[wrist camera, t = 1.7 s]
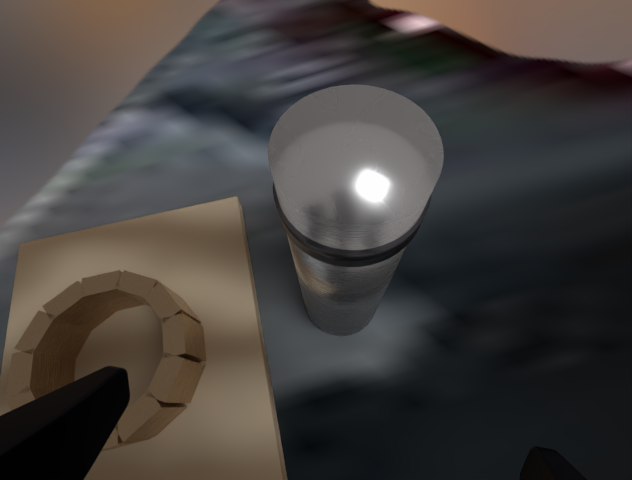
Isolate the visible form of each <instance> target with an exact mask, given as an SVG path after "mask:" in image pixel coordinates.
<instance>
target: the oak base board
mask: <svg viewBox="0 0 632 480" xmlns="http://www.w3.org/2000/svg"><path fill="white" fill-rule="evenodd" d="M117 270H120V271H122V272H123V271H124V270H125V271H129V272H132V273H135V274H139V275H142V276H145V277H149V278H152V279H156V280H158V281H159V282H161V283H162V284H163V285H165V286H166V287H168V288H169V289H170V290H172V291H173V292H174V293H176V294H177V295H179V296H180V297H181V298H183V299H184V301H185V302H186V303H187V304H188V306H189V307H190V308H191V310H192V311H193V312H194V313H195V315H196V316H197V317H198V318H199V320H200V321H201V322H202V323H200V324H201V325H202V326H203V330H204V340H205V351H206V361H204V362H200V364H203V365H206V366H205V368H204V371H203V373H202V376H201V378H200V381H199V383H198V386H197V388H196V390H195V393H194V395H193V398H192V400H191V403H185V405H186V406H187V408H186V409H185V410H184V411H183V412H182V413H181V414H180V415H179V416H177V417H176V418H175V419H174V420H173V421H172V422H171V423H170V424H169V425H168V426H167V427H165V428H164V429H163V430H162V431H161V432H160V433H159V434H158V435H157V436H156V437H151V439H150V440H146V441H142V442H138V443H134V444H130V445H126V446H123V447H119V448H115V449H111V450H106V451H101V452H100V454H99V456H98V457H97V459H96V461H95V463H94V464H93V466H92V467H91V469H90V471H89V472H88V474H87V475H86V477H85V478H84V480H287V474H286V468H285V462H284V456H283V450H282V444H281V438H280V432H279V426H278V420H277V414H276V408H275V402H274V396H273V390H272V384H271V378H270V372H269V366H268V360H267V354H266V348H265V342H264V336H263V330H262V324H261V318H260V312H259V306H258V300H257V294H256V288H255V282H254V276H253V270H252V264H251V258H250V252H249V246H248V240H247V234H246V228H245V222H244V216H243V210H242V207H241V204H240V202H239V200H238V198H237V196H236V197H231V198H227V199H222V200H218V201H213V202H209V203H204V204H199V205H195V206H190V207H186V208H181V209H176V210H172V211H167V212H163V213H158V214H153V215H149V216H144V217H140V218H135V219H130V220H126V221H121V222H117V223H112V224H108V225H103V226H98V227H94V228H89V229H85V230H80V231H75V232H71V233H66V234H62V235H57V236H52V237H48V238H43V239H39V240H34V241H29V242H25V243H20V247H19V254H18V260H17V267H16V274H15V280H14V287H13V294H12V301H11V307H10V314H9V321H8V328H7V334H6V341H5V348H4V354H3V361H2V368H1V375H0V416H1V415H3V414H5V413H7V412H9V411H11V410H10V408H9V406H8V404H7V402H8V401H9V400H10V399H11V398H13V397H6V393H7V386H8V379H9V372H10V364H11V357H12V354H13V353H17V352H22V351H19V350H17V349H14V348H15V346H16V345H17V343H18V341H19V340H20V338H21V337H22V335H23V334H24V332H25V331H26V329H27V327H28V326H29V324H30V323H31V321H32V320H33V318H34V316H35V315H36V313H37V312H38V310H39V311H42V312H45V310H44V308H43V307H42V306H43V305H45V304H46V303H47V302H49V301H50V300H51V299H53V298H54V297H56V296H57V295H58V294H60V293H61V292H62V291H64V290H65V289H67V288H68V287H69V286H71V285H72V284H73V283H75V282H76V281H79V282H81V283H82V278H87V277H91V276H95V275H100V274H104V273H109V272H113V271H117ZM162 357H163V332H162V320H161V319H160V318H159V316H158V315H157V314H156V312H155V311H154V310H153V308H152V307H151V306H148V305H141V306H137V307H133V308H128V309H124V310H120V311H117V312H115V313H114V314H113V315H111V316H110V317H109V318H108V319H106V320H105V321H104V322H102V323H101V324H100V325H99V326H97V327H96V328H95V329H93V330H92V331H91V333H90V335H89V337H88V338H87V340H86V342H85V344H84V346H83V347H82V349H81V351H80V353H79V355H78V356H77V358H76V364H75V380H74V381H76V380H78V379H80V378H82V377H84V376H86V375H88V374H91V373H93V372H95V371H97V370H99V369H101V368H104V367H106V366H116V367H121V368H124V369H126V370H127V372H128V380H129V388H130V400H129V403H128V406H127V408H129V407H130V406H131V405H132V404H133V403H134V402H136V401H137V400H138V399H139V398H140V397H141V396H142V395H144V394H145V393H146V392H147V390H148V388H149V386H150V383H151V381H152V379H153V377H154V375H155V373H156V370H157V368H158V366H159V364H160V362H161V360H162ZM127 408H126V409H127Z"/></svg>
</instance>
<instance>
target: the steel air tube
mask: <svg viewBox="0 0 632 480" xmlns="http://www.w3.org/2000/svg"><path fill="white" fill-rule="evenodd" d="M443 156H444V155H443V145H442V141H441V137H440V135H439V132H438V130H437V128H436V126H435V125H434V123H433V121H432V120H431V119H430V118H429V116H428V115H427V114H426V113H425V112H424V111H423V110H422V109H421V108H420V107H419V106H417V105H416V104H415V103H413V102H412V101H410V100H409V99H407V98H405V97H403V96H401V95H399V94H397V93H395V92H392V91H389V90H386V89H383V88H378V87H374V86H366V85H342V86H335V87H330V88H326V89H323V90H320V91H317V92H314V93H312V94H310V95H308V96H306V97H304V98H302V99H301V100H299V101H298V102H296V103H295V104H294V105H292V106H291V107H290V108H289V109H288V110H287V111H286V112H285V113H284V114H283V115H282V116H281V118H280V119H279V120H278V122H277V123H276V125H275V127H274V129H273V131H272V134H271V137H270V141H269V146H268V159H269V166H270V170H271V174H272V178H273V194H274V200H275V203H276V207H277V211H278V214H279V218H280V221H281V224H282V226H283V228H284V230H285V232H286V234H287V236H288V240H289V244H290V248H291V252H292V256H293V260H294V264H295V268H296V272H297V276H298V279H299V283H300V287H301V291H302V295H303V299H304V303H305V307H306V310H307V313H308V315H309V317H310V319H311V321H312V322H313V323H314V324H315V325H316V326H317V327H318V328H319V329H321V330H322V331H324V332H326V333H329V334H332V335H337V336H346V335H351V334H354V333H357V332H359V331H360V330H362V329H363V328H364V327H366V326H367V325H368V324H369V322H370V321H371V319H372V318H373V316H374V314H375V312H376V309H377V307H378V305H379V303H380V301H381V299H382V297H383V295H384V292H385V290H386V288H387V286H388V284H389V282H390V280H391V278H392V276H393V273H394V271H395V269H396V267H397V265H398V263H399V261H400V259H401V256H402V254H403V252H404V250H405V248H406V246H407V245H408V243H409V242H410V241H411V240H412V239H413V237H414V236H415V234H416V233H417V231H418V229H419V227H420V225H421V223H422V220H423V218H424V216H425V214H426V212H427V210H428V208H429V204H430V200H431V193H432V191H433V189H434V187H435V184H436V182H437V180H438V178H439V176H440V173H441V169H442V166H443Z"/></svg>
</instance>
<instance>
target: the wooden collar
mask: <svg viewBox="0 0 632 480" xmlns="http://www.w3.org/2000/svg"><path fill="white" fill-rule="evenodd" d="M141 305H148V306H151V307H152V308H153V310H154V311H155V312H156V314H157V315H158V316H159V318H160V319H161V320H162V332H163V357H162V360H161V362H160V364H159V366H158V368H157V370H156V373H155V375H154V377H153V379H152V381H151V383H150V386H149V388H148V390H147V392H146V393H145V394H144V395H142V396H141V397H140V398H139V399H138V400H137V401H136V402H134V403H133V404H132V405H131V406H130V407H129V408H127V409H126V410H125V411H124V413H123V415H122V416H121V418H120V420H119V421H118V423H117V425H116V427H115V428H114V430H113V432H112V433H111V435H110V437H109V439H108V440H107V442H106V444H105V445H104V447H103V449H102V451H106V450H111V449H115V448H119V447H123V446H126V445H130V444H134V443H138V442H142V441H146V440H150V439H151V437H156V436H157V435H158V434H159V433H160V432H161V431H162V430H163V429H164V428H165V427H167V426H168V425H169V424H170V423H171V422H172V421H173V420H174V419H175V418H176V417H177V416H179V415H180V414H181V413H182V412H183V411H184V410H185V409H186V408H187V406H186V405H185V403H191V400H192V398H193V395H194V393H195V390H196V388H197V386H198V383H199V381H200V378H201V376H202V373H203V371H204V368H205V366H206V365H203V364H200V362H204V361H206V351H205V340H204V330H203V326H202V325H201V324H200V323H202V322H201V321H200V320H199V318H198V317H197V316H196V315H195V313H194V312H193V311H192V310H191V308H190V307H189V306H188V304H187V303H186V302H185V301H184V299H183V298H181V297H180V296H179V295H177V294H176V293H174V292H173V291H172V290H170V289H169V288H168V287H166V286H165V285H163V284H162V283H161V282H159V281H158V280H156V279H152V278H149V277H145V276H142V275H139V274H135V273H132V272H129V271H125V270H124V271H123V272H122V271H120V270H117V271H113V272H109V273H104V274H100V275H95V276H91V277H87V278H82V283H81V282H79V281H76V282H75V283H73V284H72V285H71V286H69V287H68V288H67V289H65V290H64V291H62V292H61V293H60V294H58V295H57V296H56V297H54V298H53V299H51V300H50V301H49V302H47V303H46V304H45V305H43V306H42V307H43V308H44V310H45V312H42V311H39V310H38V312H37V313H36V315H35V316H34V318H33V320H32V321H31V323H30V324H29V326H28V327H27V329H26V331H25V332H24V334H23V335H22V337H21V338H20V340H19V341H18V343H17V345H16V346H15V348H14V349H17V350H19V351H22V352H17V353H13V354H12V357H11V364H10V372H9V379H8V386H7V393H6V397H13V398H11V399H10V400H9V401H8V402H7V404H8V406H9V408H10V410H13V409H16V408H18V407H20V406H22V405H24V404H26V403H28V402H31V401H33V400H35V399H37V398H39V397H41V396H43V395H46V394H48V393H50V392H52V391H54V390H56V389H58V388H61V387H63V386H65V385H67V384H69V383H71V382H73V381H74V380H75V364H76V358H77V356H78V355H79V353H80V351H81V349H82V347H83V346H84V344H85V342H86V340H87V338H88V337H89V335H90V333H91V331H92V330H93V329H95V328H96V327H97V326H99V325H100V324H101V323H102V322H104V321H105V320H106V319H108V318H109V317H110V316H111V315H113V314H114V313H115V312H117V311H120V310H124V309H128V308H133V307H137V306H141Z"/></svg>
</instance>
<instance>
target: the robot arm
mask: <svg viewBox="0 0 632 480" xmlns="http://www.w3.org/2000/svg"><path fill="white" fill-rule="evenodd" d="M129 400H130V388H129V380H128V372H127V370H126V369H124V368H121V367H116V366H106V367H104V368H101V369H99V370H97V371H95V372H93V373H91V374H88V375H86V376H84V377H82V378H80V379H78V380H76V381H73V382H71V383H69V384H67V385H65V386H63V387H61V388H58V389H56V390H54V391H52V392H50V393H48V394H46V395H43V396H41V397H39V398H37V399H35V400H33V401H31V402H28V403H26V404H24V405H22V406H20V407H18V408H16V409H13V410H11V411H9V412H7V413H5V414H3V415H1V416H0V480H84V478H85V477H86V475H87V474H88V472H89V471H90V469H91V467H92V466H93V464H94V463H95V461H96V459H97V457H98V456H99V454H100V452H101V451H102V449H103V447H104V445H105V444H106V442H107V440H108V439H109V437H110V435H111V433H112V432H113V430H114V428H115V427H116V425H117V423H118V421H119V420H120V418H121V416H122V415H123V413H124V411H125V410H126V408H127V406H128V403H129ZM520 480H587V479H586V478H585V477H584V476H583V475H581V474H580V473H579V472H578V471H577V470H576V469H575V468H574V467H573V466H572V465H571V464H570V463H569V462H568V461H567V460H566V459H565V458H563V457H562V456H561V455H560V454H559V453H558V452H556V451H555V450H552V449H547V448H542V447H537V446H535V447H532V448H531V449H530V451H529V454H528V456H527V458H526V461H525V463H524V465H523V468H522V470H521V473H520Z"/></svg>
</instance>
